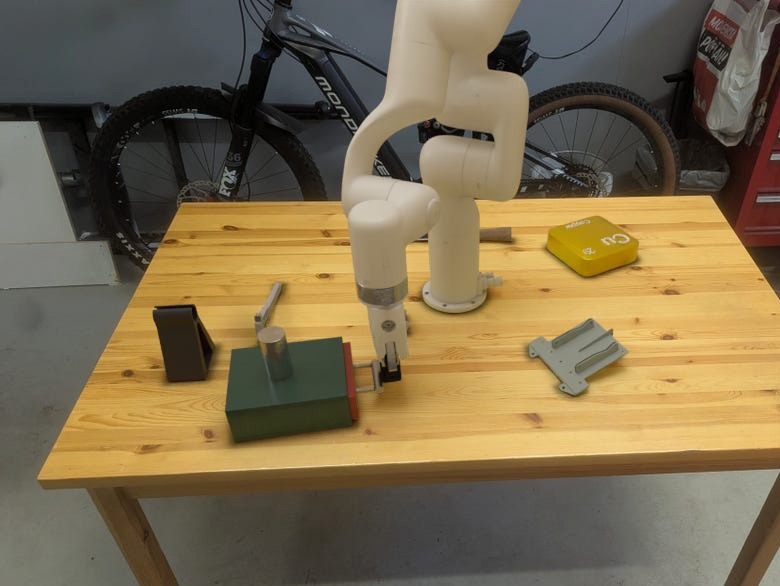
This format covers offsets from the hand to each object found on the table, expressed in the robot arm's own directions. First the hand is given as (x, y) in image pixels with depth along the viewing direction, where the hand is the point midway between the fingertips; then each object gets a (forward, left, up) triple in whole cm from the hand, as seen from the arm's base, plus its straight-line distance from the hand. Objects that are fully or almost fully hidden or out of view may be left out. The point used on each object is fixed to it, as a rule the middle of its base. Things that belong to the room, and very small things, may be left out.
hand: (391, 378), depth 108 cm
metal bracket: (-33, -1, -3) cm, 33 cm away
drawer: (+12, 0, -2) cm, 12 cm away
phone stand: (+33, -13, -3) cm, 35 cm away
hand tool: (-19, -47, -1) cm, 51 cm away
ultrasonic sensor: (-3, -17, -3) cm, 17 cm away
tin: (+17, 0, +4) cm, 17 cm away
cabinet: (+16, 0, -2) cm, 16 cm away
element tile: (-47, -35, -3) cm, 59 cm away
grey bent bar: (+20, -25, -3) cm, 32 cm away
